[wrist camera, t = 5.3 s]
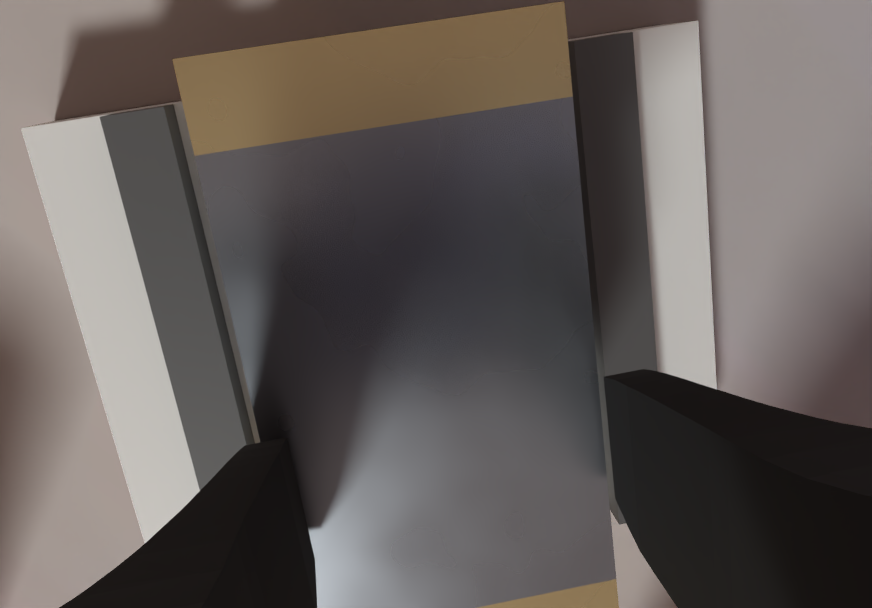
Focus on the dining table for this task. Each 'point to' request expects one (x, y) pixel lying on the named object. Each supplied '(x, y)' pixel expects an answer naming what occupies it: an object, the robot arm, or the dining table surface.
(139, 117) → the stand
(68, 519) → the dining table surface
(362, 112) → the housing
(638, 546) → the robot arm
